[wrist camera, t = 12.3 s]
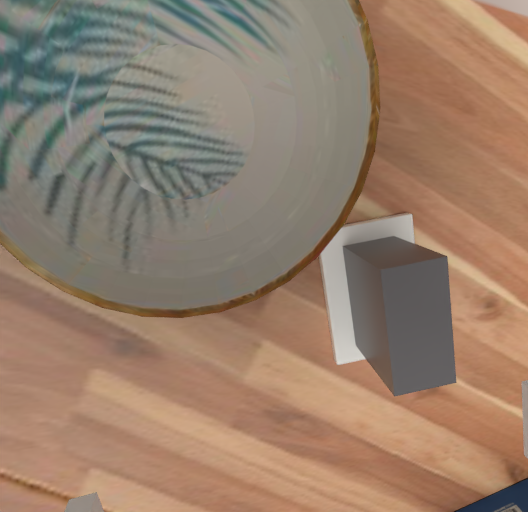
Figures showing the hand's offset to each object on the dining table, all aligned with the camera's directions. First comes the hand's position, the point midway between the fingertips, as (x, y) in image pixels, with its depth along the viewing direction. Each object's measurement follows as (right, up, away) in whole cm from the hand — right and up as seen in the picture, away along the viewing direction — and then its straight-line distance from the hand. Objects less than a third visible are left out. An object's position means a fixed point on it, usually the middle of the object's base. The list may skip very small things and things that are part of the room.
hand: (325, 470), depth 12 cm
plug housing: (+8, +3, +22) cm, 23 cm away
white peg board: (+7, +4, +23) cm, 24 cm away
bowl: (-8, +17, +19) cm, 26 cm away
